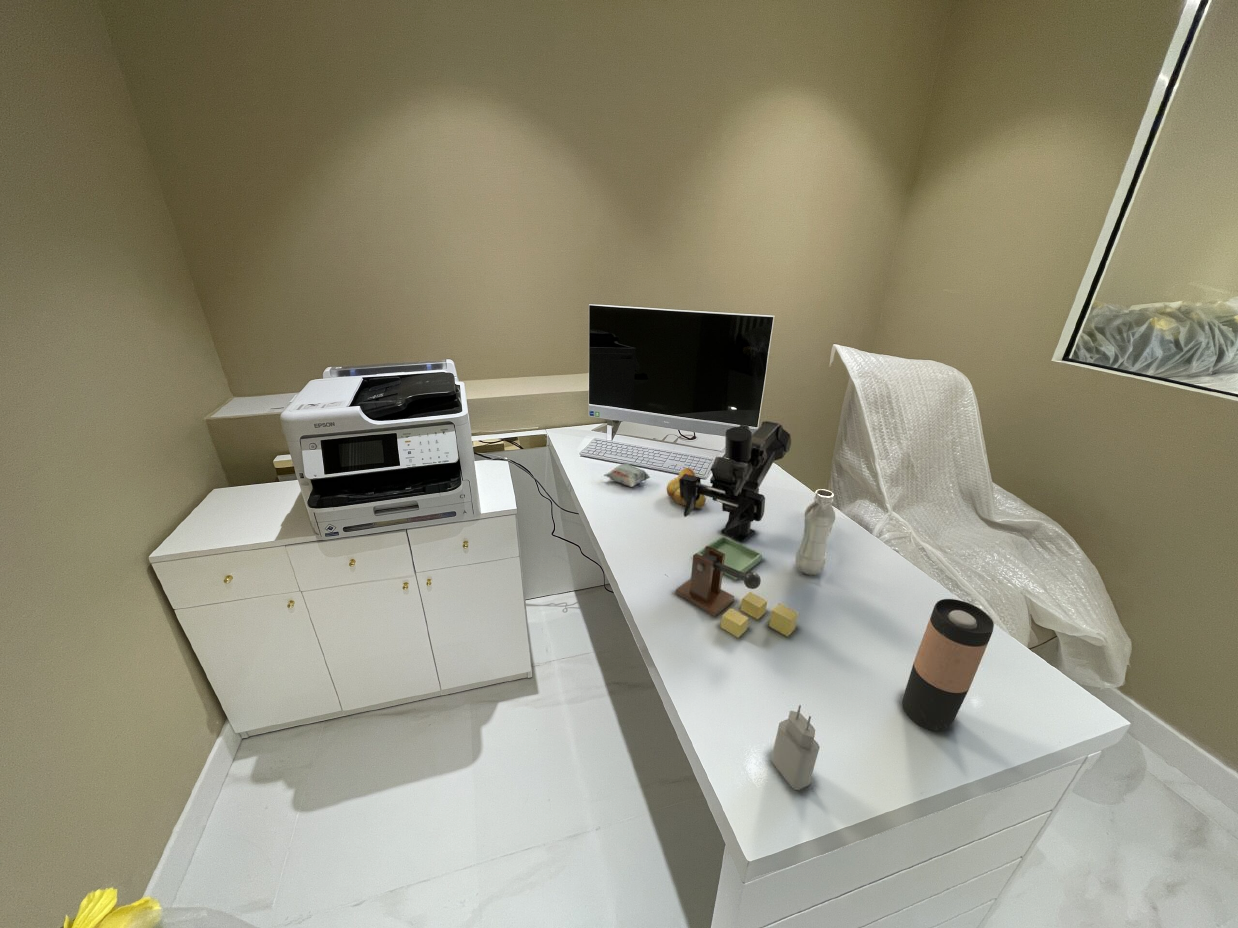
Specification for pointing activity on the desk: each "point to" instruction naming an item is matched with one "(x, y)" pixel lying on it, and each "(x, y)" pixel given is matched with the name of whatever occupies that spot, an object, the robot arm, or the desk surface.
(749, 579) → the ball knob lever
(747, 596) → the butter
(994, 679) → the desk surface
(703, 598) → the brown lever stand
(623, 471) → the packaged food
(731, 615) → the butter
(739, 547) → the tray
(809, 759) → the power adapter
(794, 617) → the block
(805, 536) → the plastic bottle
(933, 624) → the travel mug
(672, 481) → the bread roll
